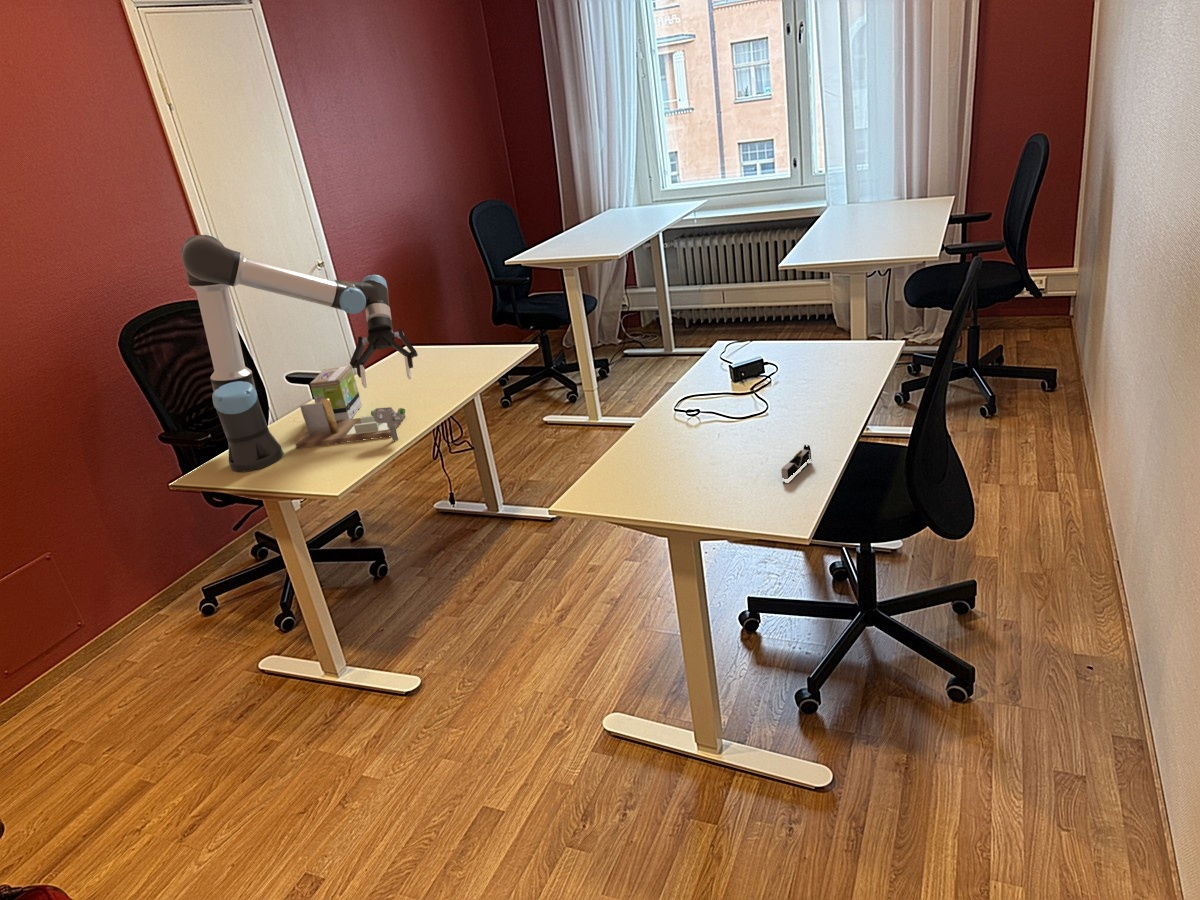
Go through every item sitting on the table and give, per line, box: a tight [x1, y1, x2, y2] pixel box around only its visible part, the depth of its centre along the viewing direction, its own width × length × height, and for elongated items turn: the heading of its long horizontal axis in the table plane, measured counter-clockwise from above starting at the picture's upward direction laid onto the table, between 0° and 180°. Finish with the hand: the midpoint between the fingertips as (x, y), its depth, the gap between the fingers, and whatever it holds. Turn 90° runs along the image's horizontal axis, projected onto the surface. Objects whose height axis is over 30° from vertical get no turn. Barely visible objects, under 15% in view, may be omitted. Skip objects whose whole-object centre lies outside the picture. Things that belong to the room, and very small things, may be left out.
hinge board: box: [295, 398, 406, 449], centre depth 248 cm, size 30×16×12 cm, turn 88°
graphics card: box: [781, 444, 812, 479], centre depth 183 cm, size 12×3×5 cm, turn 141°
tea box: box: [309, 365, 363, 421], centre depth 264 cm, size 15×10×15 cm, turn 0°
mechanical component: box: [370, 406, 406, 442], centre depth 237 cm, size 3×10×10 cm, turn 79°
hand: (386, 381), depth 243 cm, fingers open, 13 cm apart
